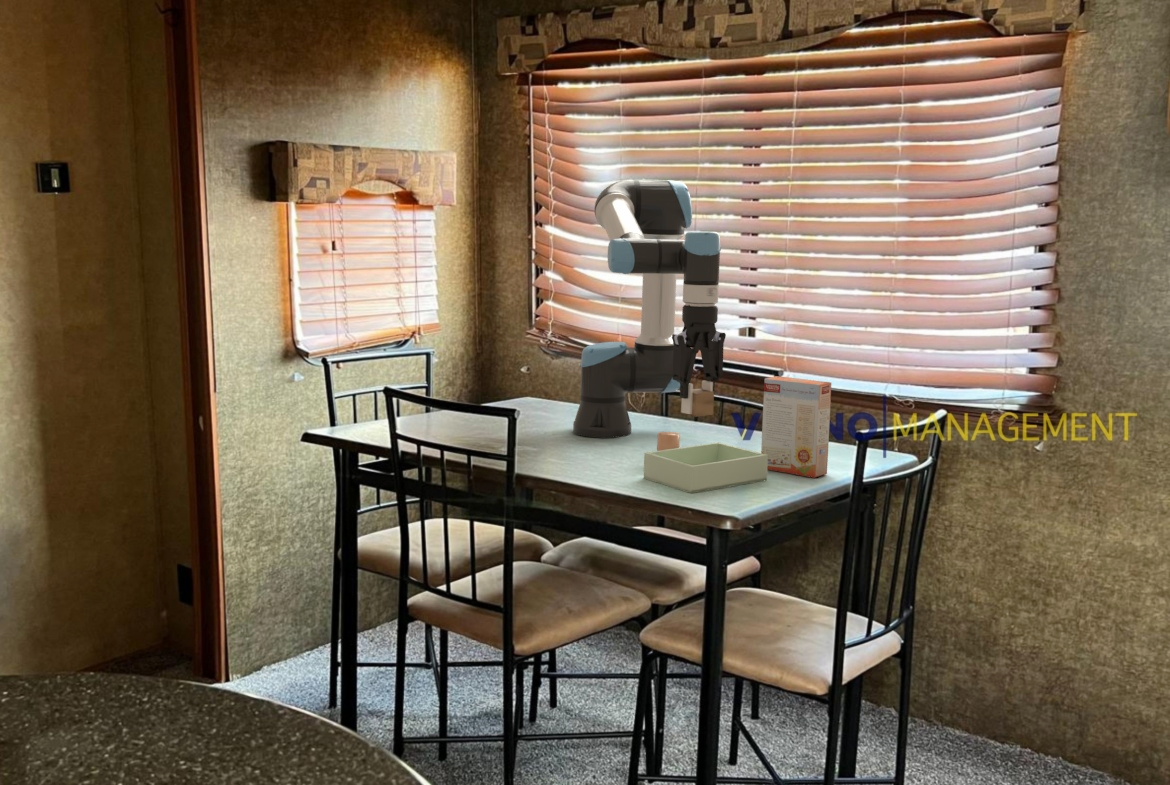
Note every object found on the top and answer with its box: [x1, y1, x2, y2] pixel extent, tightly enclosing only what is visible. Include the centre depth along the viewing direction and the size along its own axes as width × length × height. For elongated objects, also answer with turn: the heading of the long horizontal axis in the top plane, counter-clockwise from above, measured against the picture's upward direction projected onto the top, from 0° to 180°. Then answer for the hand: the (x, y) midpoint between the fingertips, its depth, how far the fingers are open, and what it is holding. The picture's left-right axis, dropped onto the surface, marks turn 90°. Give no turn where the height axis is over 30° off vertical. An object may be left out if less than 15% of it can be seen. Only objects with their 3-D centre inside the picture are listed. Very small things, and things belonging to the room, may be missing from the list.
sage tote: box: [643, 442, 768, 494], centre depth 241 cm, size 16×22×6 cm
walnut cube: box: [680, 388, 715, 418], centre depth 242 cm, size 5×5×5 cm
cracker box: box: [760, 375, 832, 479], centre depth 249 cm, size 14×6×21 cm, turn 49°
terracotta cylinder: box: [656, 431, 681, 451], centre depth 256 cm, size 5×5×7 cm
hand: (696, 411), depth 242 cm, fingers closed on walnut cube, 5 cm apart
